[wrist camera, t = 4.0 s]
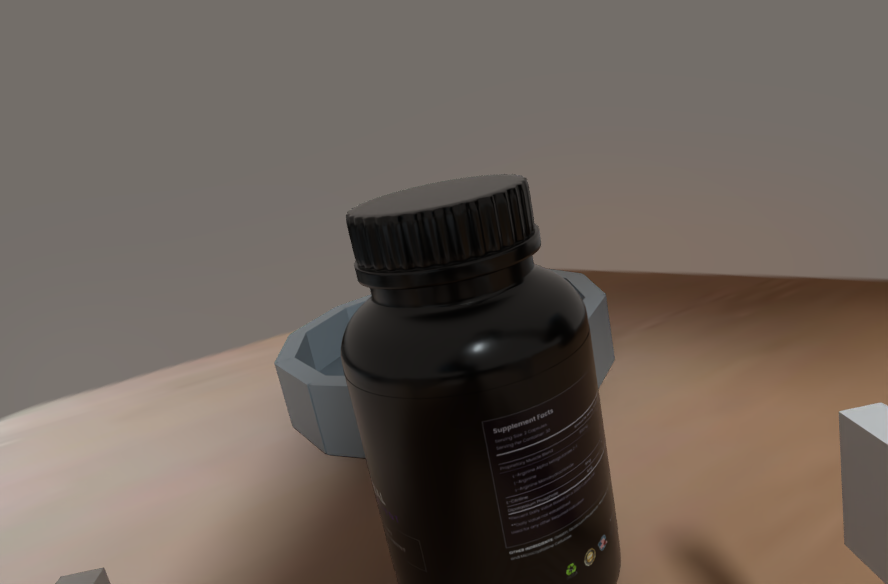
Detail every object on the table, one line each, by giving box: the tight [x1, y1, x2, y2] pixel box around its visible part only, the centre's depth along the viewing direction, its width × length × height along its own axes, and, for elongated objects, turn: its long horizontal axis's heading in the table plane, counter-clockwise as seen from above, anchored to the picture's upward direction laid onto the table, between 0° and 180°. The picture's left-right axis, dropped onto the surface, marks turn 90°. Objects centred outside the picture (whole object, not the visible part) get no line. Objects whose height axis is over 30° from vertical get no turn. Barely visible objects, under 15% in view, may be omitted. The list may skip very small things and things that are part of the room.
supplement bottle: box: [341, 174, 621, 584], centre depth 19 cm, size 7×7×12 cm
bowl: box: [275, 269, 615, 458], centre depth 36 cm, size 17×17×4 cm
